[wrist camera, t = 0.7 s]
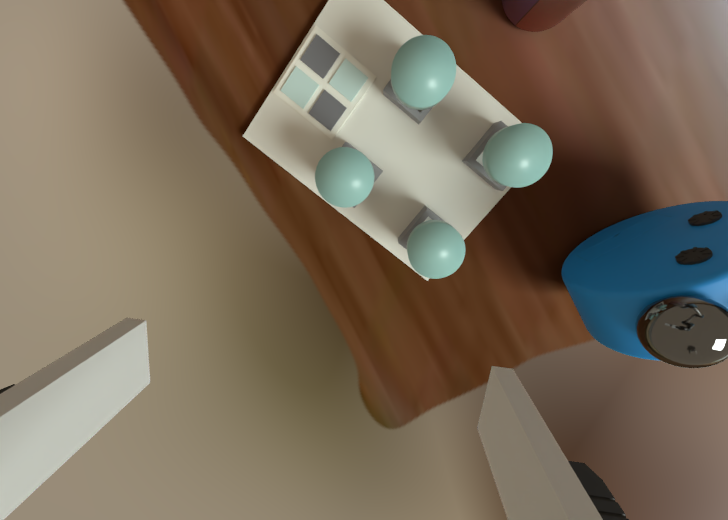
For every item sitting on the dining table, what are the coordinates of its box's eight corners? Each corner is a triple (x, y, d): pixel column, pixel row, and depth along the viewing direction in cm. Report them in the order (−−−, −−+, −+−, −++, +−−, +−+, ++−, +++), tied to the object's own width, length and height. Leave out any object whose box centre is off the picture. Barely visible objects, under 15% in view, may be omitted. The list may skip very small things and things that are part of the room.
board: (349, -26, 29) (345, -47, 26) (544, 146, 32) (559, 145, 29) (245, 136, 33) (232, 134, 30) (426, 278, 36) (429, 288, 33)
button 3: (502, 116, 28) (520, 109, 24) (542, 151, 29) (566, 150, 25) (464, 161, 29) (476, 161, 26) (503, 194, 30) (520, 199, 26)
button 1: (415, 39, 27) (419, 19, 23) (458, 77, 28) (470, 64, 24) (379, 89, 28) (378, 78, 25) (421, 125, 29) (426, 119, 25)
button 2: (344, 137, 30) (338, 134, 26) (386, 171, 30) (385, 172, 26) (314, 180, 31) (303, 183, 27) (354, 212, 31) (349, 219, 27)
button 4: (427, 205, 31) (433, 211, 27) (466, 236, 31) (477, 247, 27) (395, 244, 32) (396, 255, 28) (432, 273, 32) (439, 289, 28)
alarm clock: (559, 310, 36) (675, 411, 21) (533, 259, 35) (638, 329, 20) (693, 247, 33) (926, 312, 19) (671, 189, 32) (901, 212, 18)
